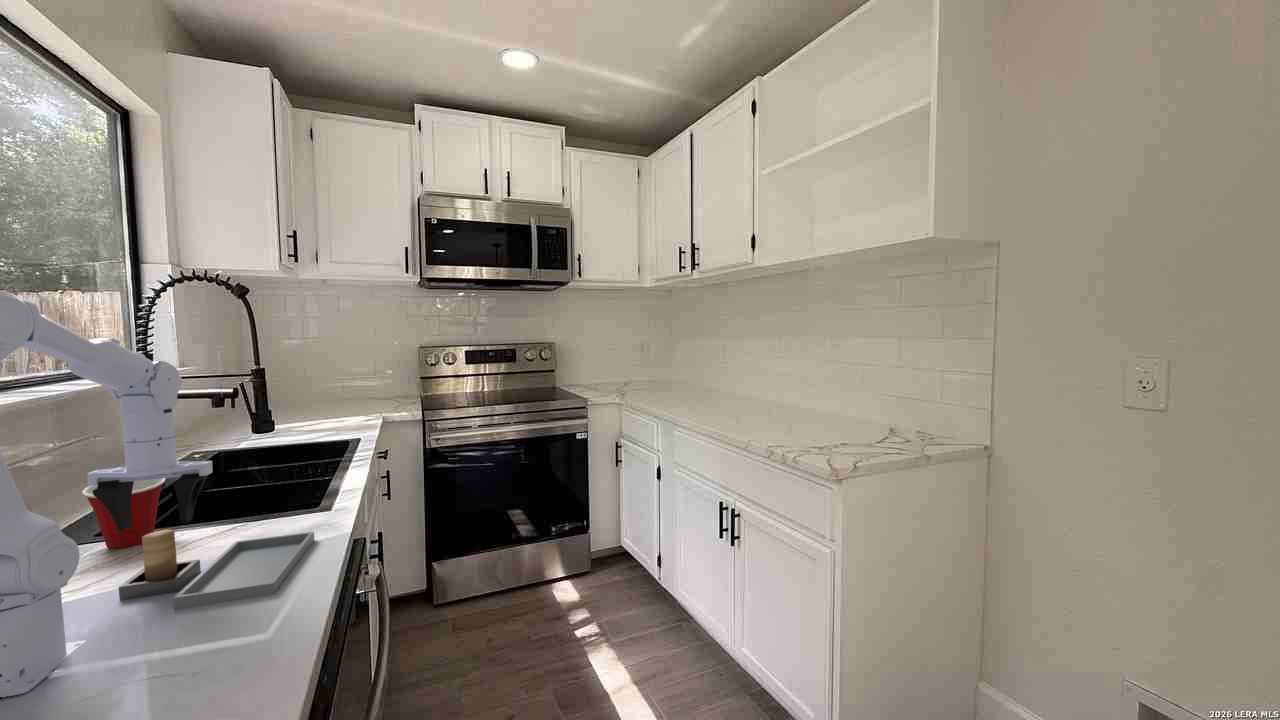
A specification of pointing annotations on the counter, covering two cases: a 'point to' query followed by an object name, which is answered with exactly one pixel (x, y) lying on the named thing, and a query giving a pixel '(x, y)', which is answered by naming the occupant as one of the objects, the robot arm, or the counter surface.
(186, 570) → the pin holder
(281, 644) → the counter surface
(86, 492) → the plastic cup
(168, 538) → the oak dowel
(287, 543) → the slate tray
